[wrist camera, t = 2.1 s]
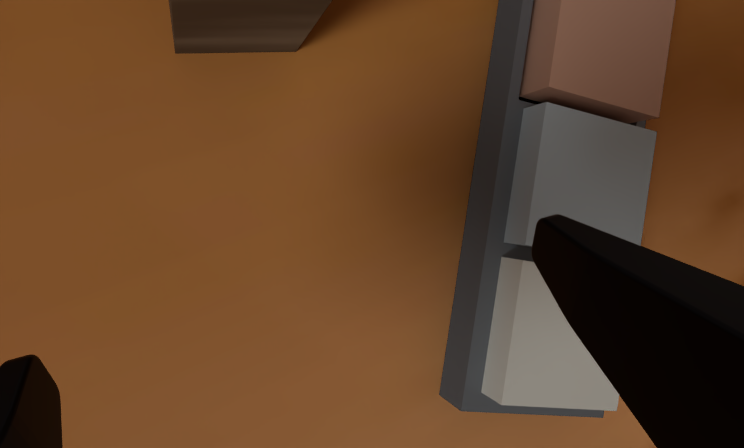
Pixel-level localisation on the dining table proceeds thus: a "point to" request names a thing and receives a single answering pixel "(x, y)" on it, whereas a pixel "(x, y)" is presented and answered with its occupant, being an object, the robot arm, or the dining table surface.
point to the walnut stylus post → (243, 24)
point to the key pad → (490, 220)
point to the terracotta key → (599, 56)
